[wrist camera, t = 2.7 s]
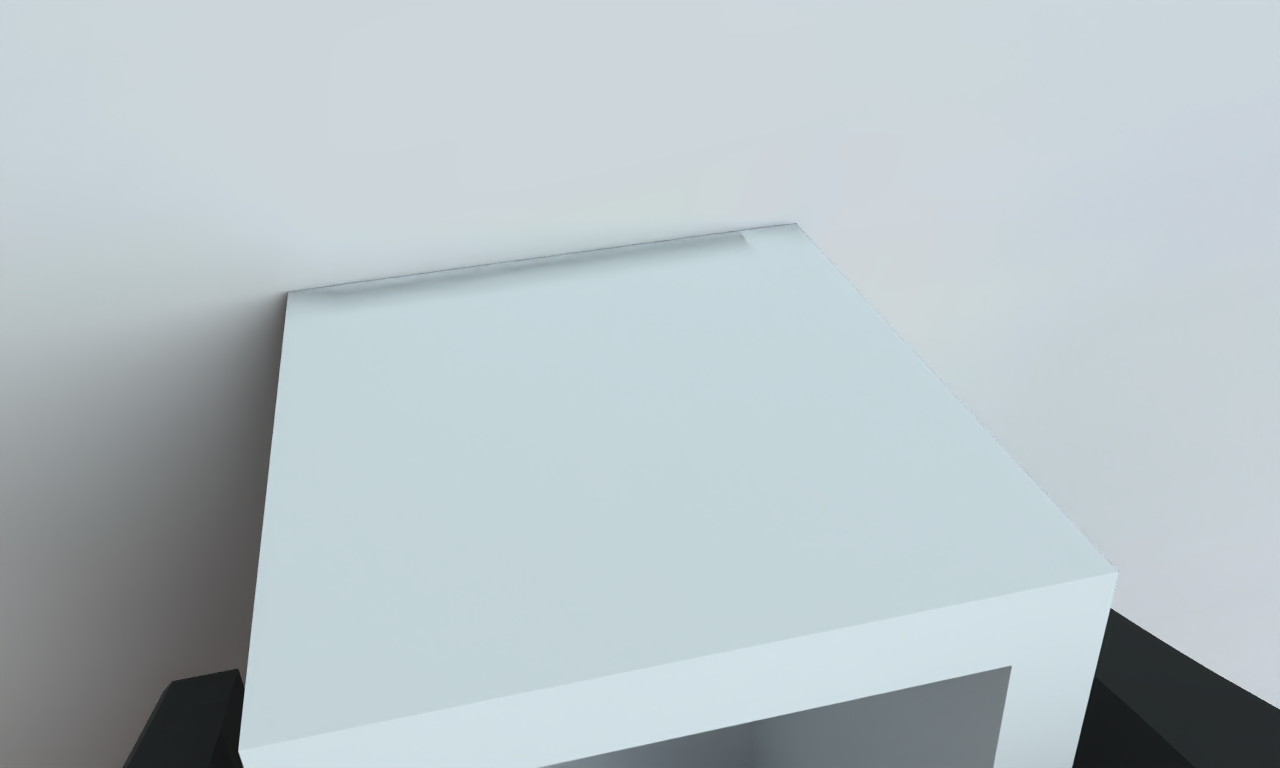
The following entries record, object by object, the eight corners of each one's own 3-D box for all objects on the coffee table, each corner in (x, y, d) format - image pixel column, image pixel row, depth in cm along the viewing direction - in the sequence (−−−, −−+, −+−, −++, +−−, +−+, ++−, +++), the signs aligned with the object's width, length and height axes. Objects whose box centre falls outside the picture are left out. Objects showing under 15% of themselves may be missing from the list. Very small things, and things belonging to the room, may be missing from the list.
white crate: (795, 223, 11) (1118, 570, 6) (779, 757, 15) (967, 1203, 11) (288, 291, 10) (237, 750, 6) (417, 838, 14) (449, 1359, 10)
